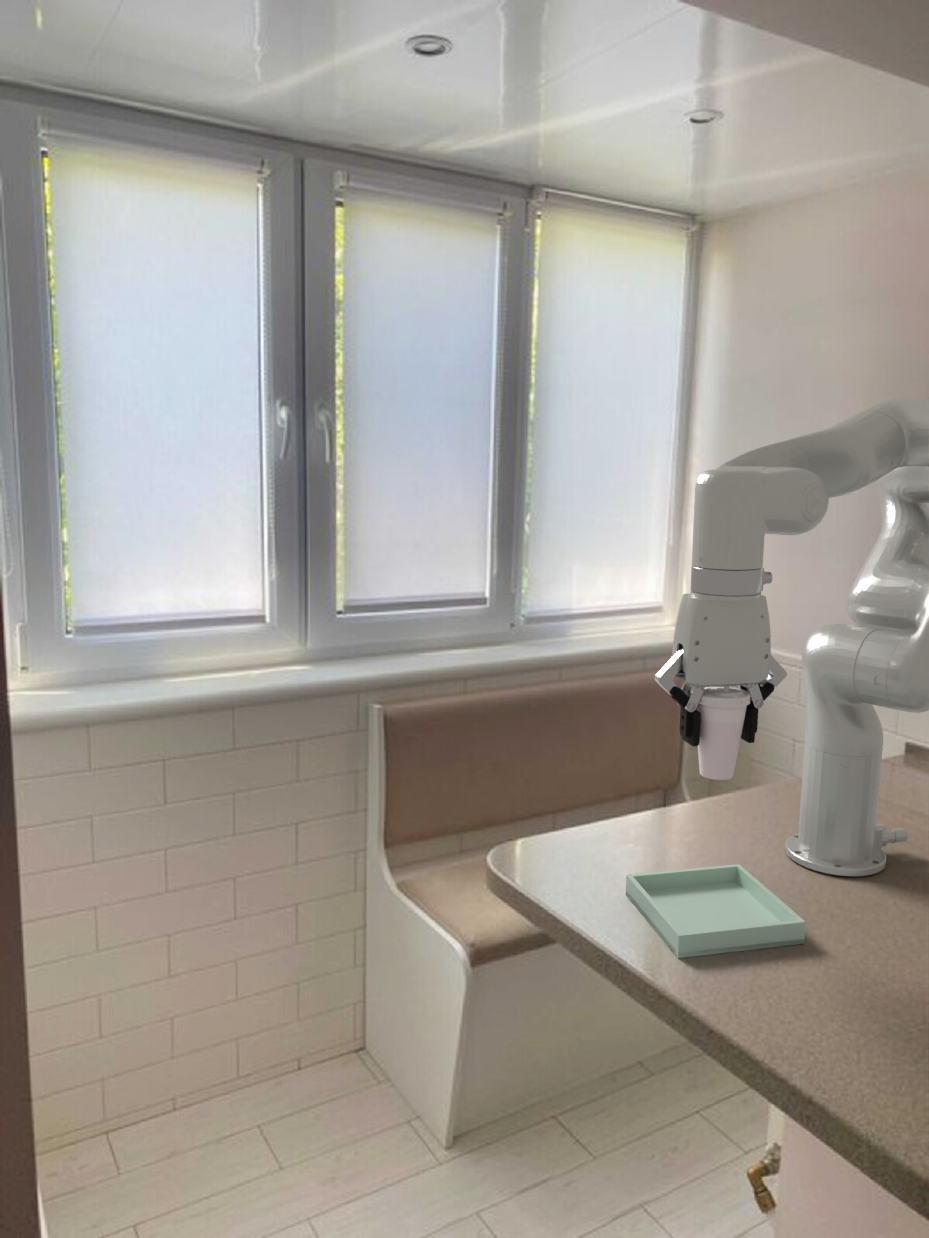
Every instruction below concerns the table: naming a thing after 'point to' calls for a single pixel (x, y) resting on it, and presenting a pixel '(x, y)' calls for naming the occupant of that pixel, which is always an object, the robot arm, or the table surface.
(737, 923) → the tray
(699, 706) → the smoothie
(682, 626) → the robot arm
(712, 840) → the table surface
